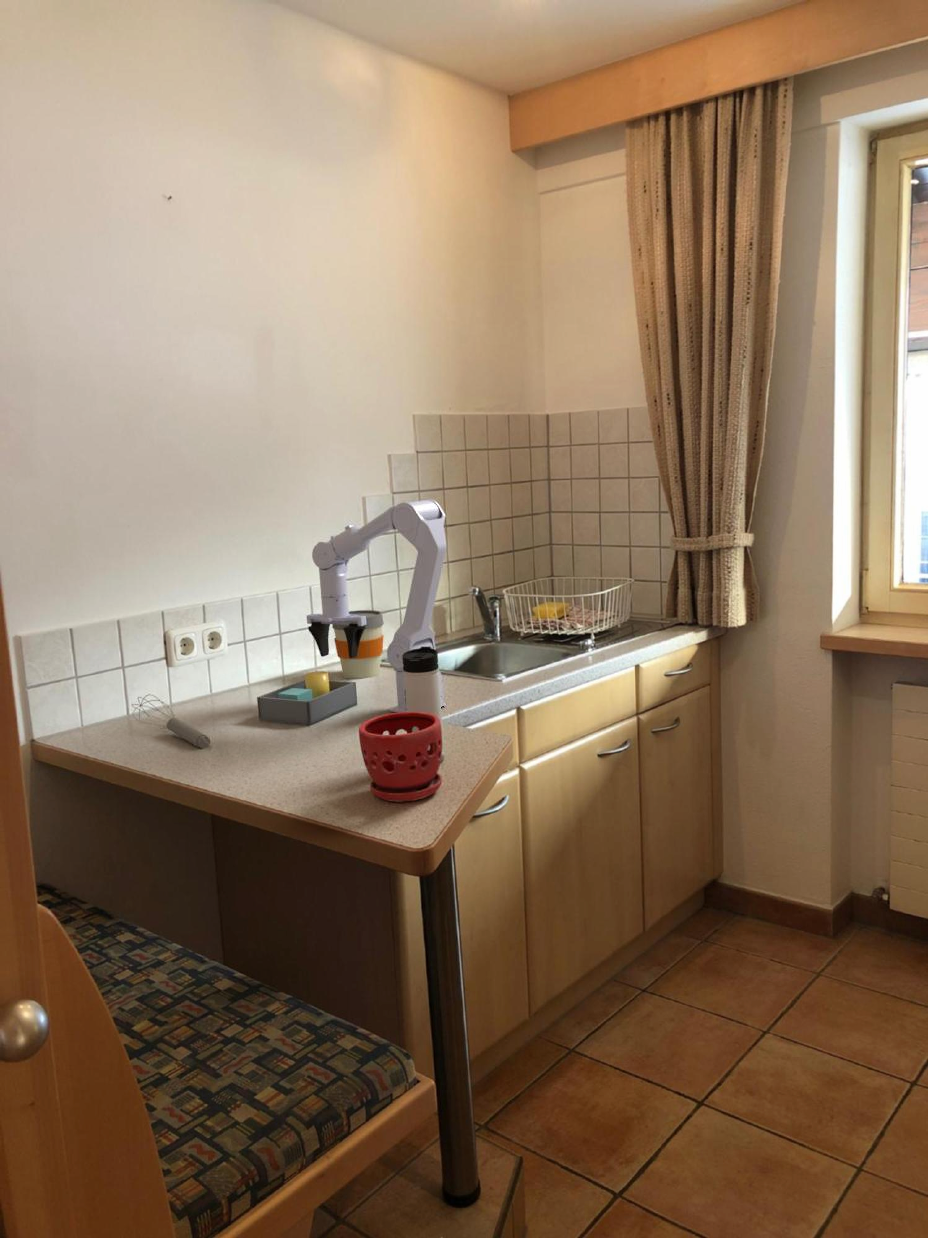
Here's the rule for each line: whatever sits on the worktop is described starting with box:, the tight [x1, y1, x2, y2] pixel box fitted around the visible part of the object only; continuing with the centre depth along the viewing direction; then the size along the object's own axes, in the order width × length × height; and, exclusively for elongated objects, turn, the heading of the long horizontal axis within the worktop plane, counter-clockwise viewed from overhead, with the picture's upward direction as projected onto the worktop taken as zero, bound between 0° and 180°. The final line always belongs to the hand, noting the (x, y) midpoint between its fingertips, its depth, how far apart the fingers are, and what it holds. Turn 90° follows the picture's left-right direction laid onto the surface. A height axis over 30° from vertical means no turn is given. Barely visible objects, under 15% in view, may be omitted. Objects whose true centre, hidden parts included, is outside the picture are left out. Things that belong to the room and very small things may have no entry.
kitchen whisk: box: [131, 694, 212, 750], centre depth 206 cm, size 6×34×6 cm, turn 39°
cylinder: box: [304, 670, 330, 699], centre depth 220 cm, size 5×5×7 cm
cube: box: [278, 688, 313, 701], centre depth 214 cm, size 5×5×5 cm
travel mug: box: [402, 647, 445, 763], centre depth 179 cm, size 6×7×20 cm
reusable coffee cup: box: [331, 609, 384, 680], centre depth 250 cm, size 13×13×15 cm
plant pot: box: [358, 712, 443, 803], centre depth 163 cm, size 13×13×12 cm
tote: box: [256, 678, 358, 726], centre depth 217 cm, size 17×13×5 cm
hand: (338, 656), depth 225 cm, fingers open, 7 cm apart
